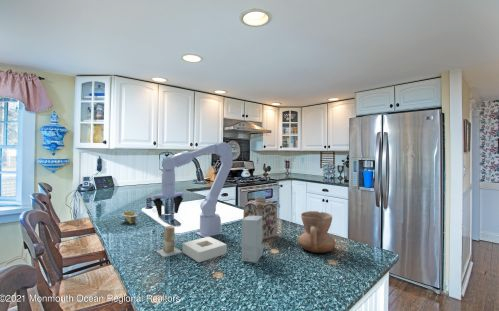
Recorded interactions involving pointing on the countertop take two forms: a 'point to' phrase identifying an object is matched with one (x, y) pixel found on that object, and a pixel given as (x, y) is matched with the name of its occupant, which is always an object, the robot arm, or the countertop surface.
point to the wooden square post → (168, 239)
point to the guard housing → (204, 249)
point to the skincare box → (252, 238)
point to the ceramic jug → (316, 232)
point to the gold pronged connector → (130, 216)
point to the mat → (164, 254)
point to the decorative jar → (263, 215)
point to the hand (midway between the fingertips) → (167, 214)
